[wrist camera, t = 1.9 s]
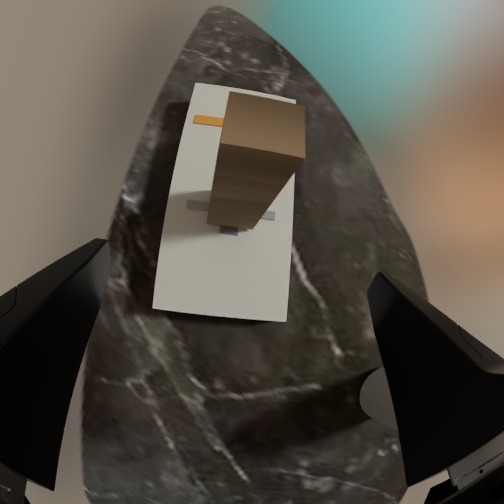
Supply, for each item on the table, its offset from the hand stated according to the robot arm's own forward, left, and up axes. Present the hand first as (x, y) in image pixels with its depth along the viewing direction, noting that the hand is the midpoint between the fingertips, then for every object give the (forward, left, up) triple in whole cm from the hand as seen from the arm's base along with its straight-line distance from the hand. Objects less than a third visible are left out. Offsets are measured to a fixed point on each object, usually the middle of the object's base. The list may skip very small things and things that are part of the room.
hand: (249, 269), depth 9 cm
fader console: (+7, 0, -12) cm, 14 cm away
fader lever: (+5, 0, -9) cm, 11 cm away
